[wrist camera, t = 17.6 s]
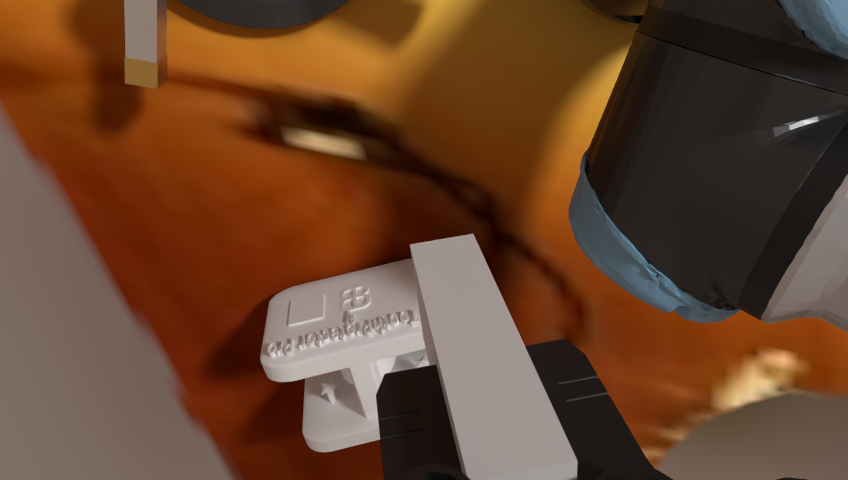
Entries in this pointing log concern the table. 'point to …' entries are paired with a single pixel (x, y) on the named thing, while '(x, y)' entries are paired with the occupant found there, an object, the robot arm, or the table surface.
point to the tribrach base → (264, 11)
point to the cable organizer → (344, 347)
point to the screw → (145, 42)
